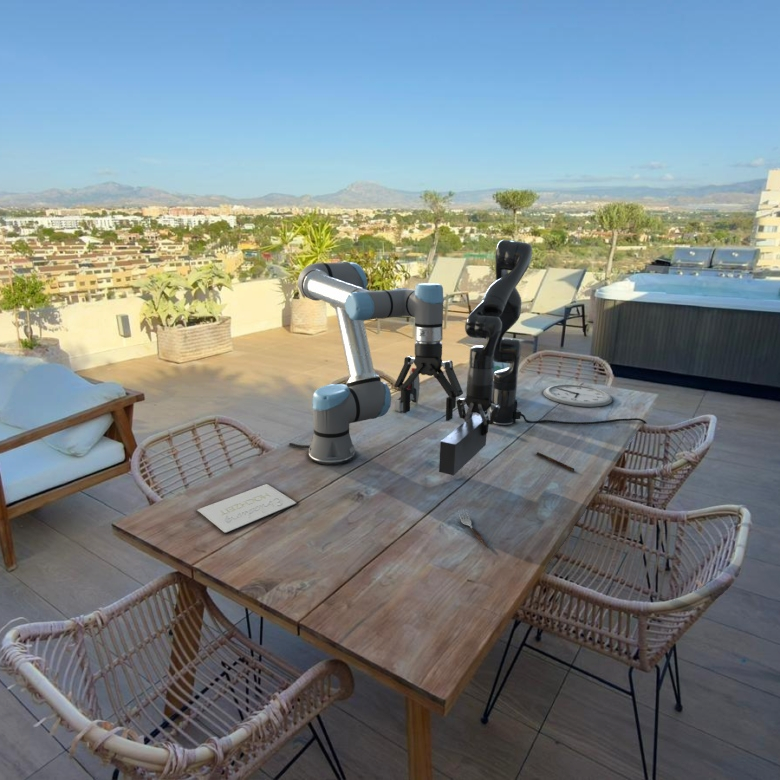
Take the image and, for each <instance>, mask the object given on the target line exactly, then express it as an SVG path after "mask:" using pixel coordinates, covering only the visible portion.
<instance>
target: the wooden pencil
mask: <svg viewBox="0 0 780 780" xmlns="http://www.w3.org/2000/svg"><path fill="white" fill-rule="evenodd" d="M535 455H536V456H538V457H541V458H543V459H545V460H547V461H549V462H552V463H553V464H555V465H558V466H560V467H562V468H564V469H566V470H569V471H571V472H575V468H574V467H572V466H570V465H567V464H566V463H564V462H561V461H558V460H557V459H554V458H552V457H549V456H548V455H546V454H543V453H541V452H539V451H537V452H536V454H535Z"/></svg>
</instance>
